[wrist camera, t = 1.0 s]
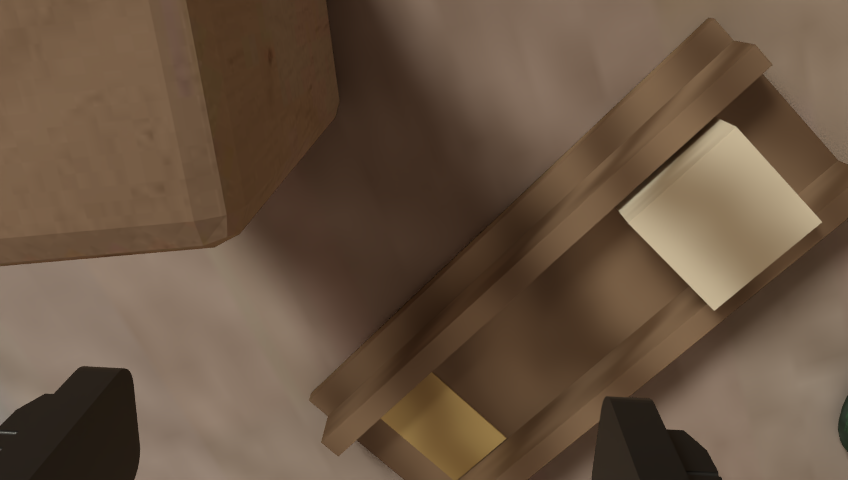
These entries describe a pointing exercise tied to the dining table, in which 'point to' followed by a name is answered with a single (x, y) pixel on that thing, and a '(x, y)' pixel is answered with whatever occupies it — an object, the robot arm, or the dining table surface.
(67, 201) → the wooden block
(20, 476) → the robot arm
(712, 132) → the birch block
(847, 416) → the coffee jar
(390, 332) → the chute
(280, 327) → the dining table surface
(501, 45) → the dining table surface
